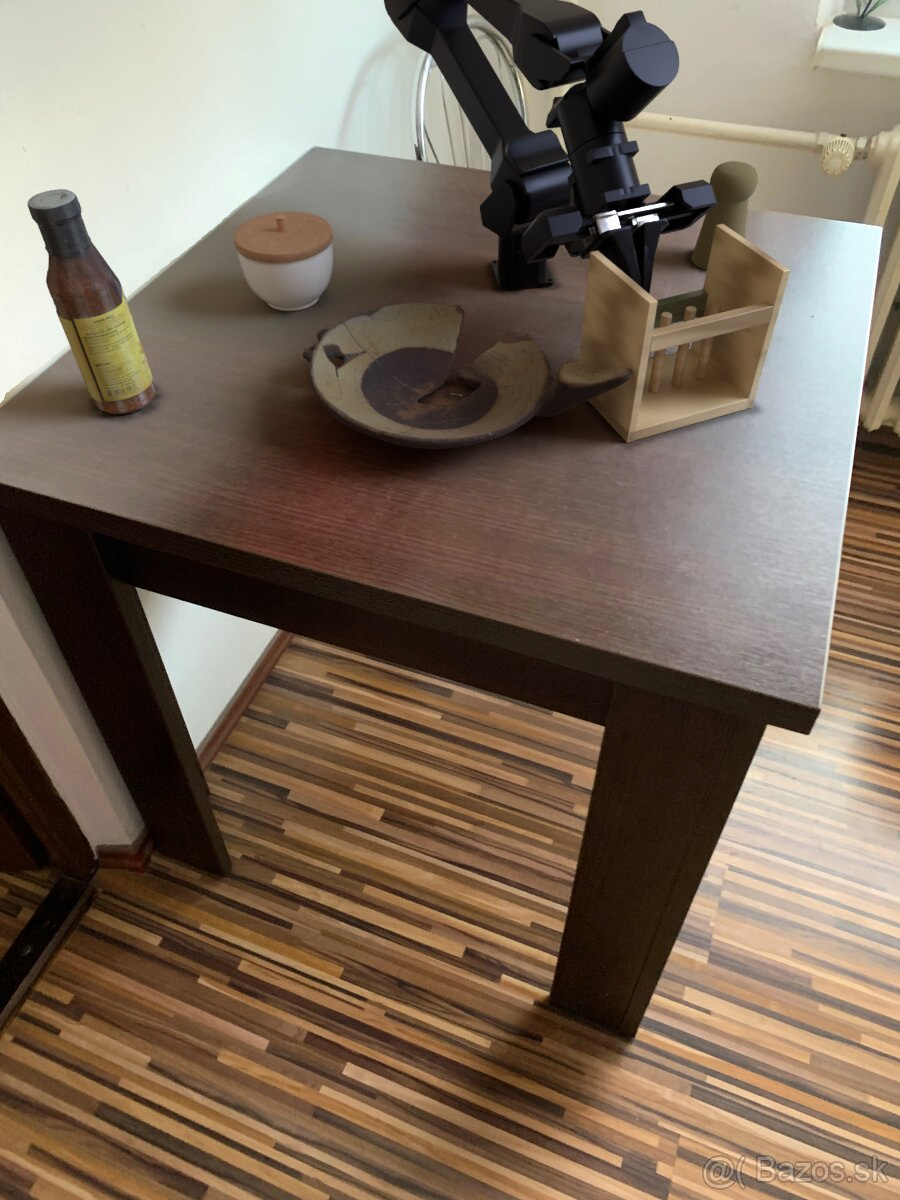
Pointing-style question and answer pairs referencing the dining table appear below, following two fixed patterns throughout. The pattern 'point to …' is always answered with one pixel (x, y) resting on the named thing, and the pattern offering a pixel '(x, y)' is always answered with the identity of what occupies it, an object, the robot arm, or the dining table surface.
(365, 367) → the broken clay pan
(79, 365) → the sauce bottle
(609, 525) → the dining table surface
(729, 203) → the olive pawn
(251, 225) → the trinket box
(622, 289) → the rack
